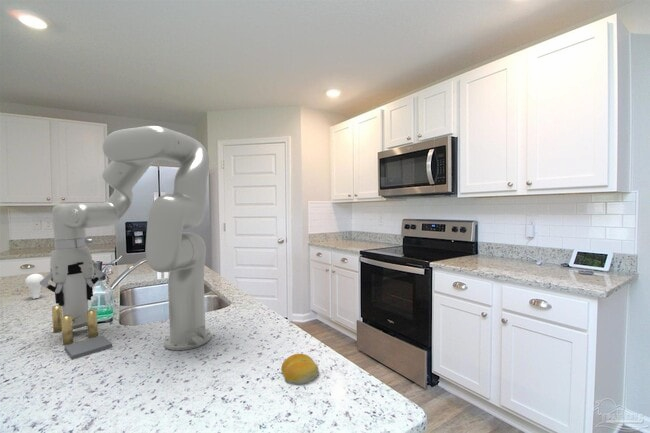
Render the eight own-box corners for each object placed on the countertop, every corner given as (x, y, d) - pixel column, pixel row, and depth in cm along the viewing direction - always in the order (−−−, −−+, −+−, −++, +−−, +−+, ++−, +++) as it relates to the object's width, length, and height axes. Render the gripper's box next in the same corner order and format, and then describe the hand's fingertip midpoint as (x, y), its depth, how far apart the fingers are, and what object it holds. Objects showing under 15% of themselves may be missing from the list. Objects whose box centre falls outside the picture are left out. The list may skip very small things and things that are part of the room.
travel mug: (76, 330, 94) (71, 264, 93) (58, 329, 96) (53, 264, 95) (95, 322, 100) (90, 260, 100) (78, 322, 102) (73, 260, 101)
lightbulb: (36, 301, 133) (34, 275, 132) (22, 301, 133) (20, 275, 132) (49, 296, 139) (47, 272, 138) (35, 297, 139) (34, 272, 138)
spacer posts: (99, 336, 96) (97, 310, 96) (63, 346, 90) (62, 318, 89) (84, 323, 107) (83, 300, 106) (52, 331, 100) (51, 306, 100)
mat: (112, 347, 88) (112, 343, 88) (72, 359, 82) (71, 355, 82) (102, 338, 94) (102, 335, 94) (64, 349, 88) (64, 345, 88)
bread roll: (287, 389, 67) (287, 371, 67) (278, 369, 76) (278, 353, 76) (324, 381, 70) (323, 363, 70) (311, 362, 79) (311, 346, 79)
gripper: (100, 240, 106) (104, 293, 107) (30, 247, 93) (35, 307, 93) (107, 241, 101) (111, 297, 102) (34, 249, 88) (39, 312, 89)
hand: (75, 301), depth 98 cm, fingers closed on travel mug, 6 cm apart
